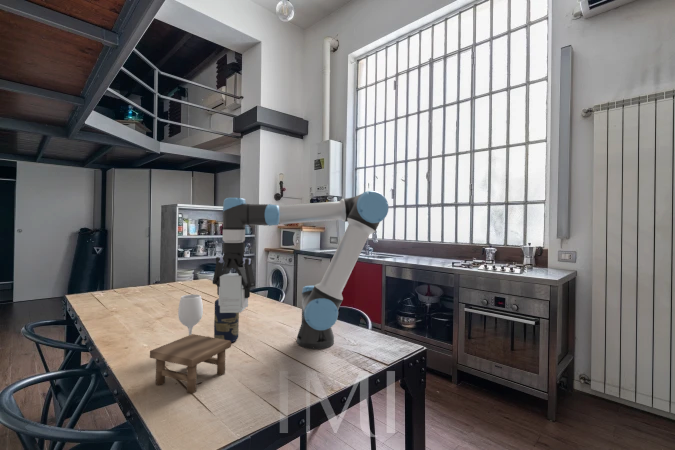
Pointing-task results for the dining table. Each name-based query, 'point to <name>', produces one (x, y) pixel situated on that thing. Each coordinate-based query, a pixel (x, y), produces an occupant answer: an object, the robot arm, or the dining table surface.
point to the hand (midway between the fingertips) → (233, 305)
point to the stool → (189, 357)
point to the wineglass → (190, 310)
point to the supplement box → (231, 293)
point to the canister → (225, 324)
